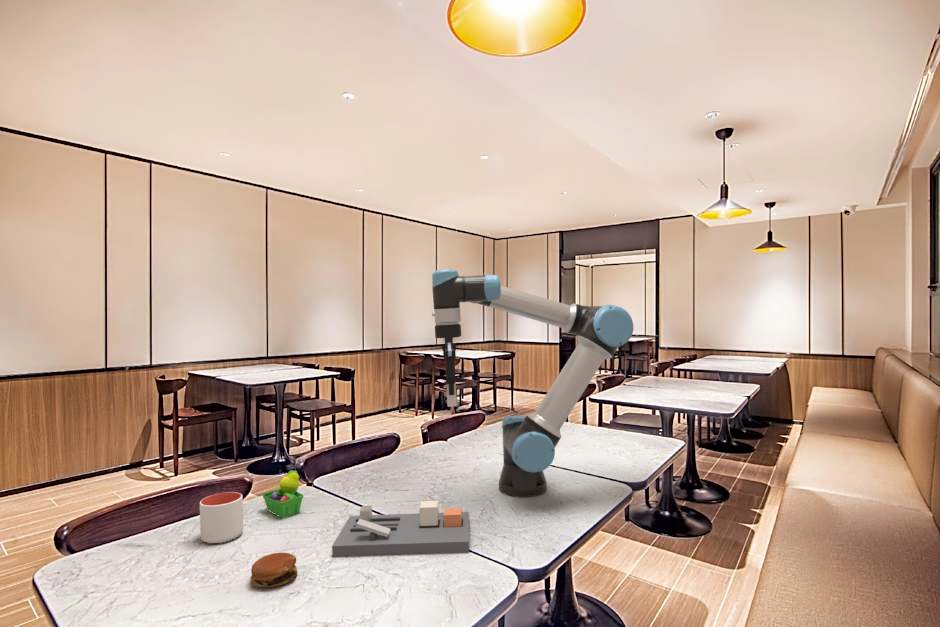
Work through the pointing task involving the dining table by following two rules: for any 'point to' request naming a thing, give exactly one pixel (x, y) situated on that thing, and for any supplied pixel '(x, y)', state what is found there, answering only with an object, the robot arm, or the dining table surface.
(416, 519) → the console
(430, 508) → the button
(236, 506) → the cup
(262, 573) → the burger
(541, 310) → the robot arm
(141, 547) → the dining table surface
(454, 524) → the button
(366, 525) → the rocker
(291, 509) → the fruit basket
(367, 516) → the slider knob
